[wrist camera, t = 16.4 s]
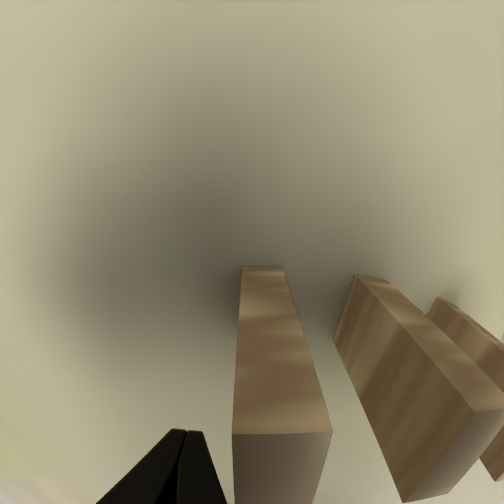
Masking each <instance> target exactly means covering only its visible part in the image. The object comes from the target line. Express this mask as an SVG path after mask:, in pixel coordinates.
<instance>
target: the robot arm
mask: <svg viewBox="0 0 504 504" xmlns="http://www.w3.org/2000/svg"><path fill="white" fill-rule="evenodd" d="M96 504H227V501H226V499H225V496H224V493H223V491H222V488H221V485H220V482H219V479H218V477H217V474H216V471H215V468H214V465H213V462H212V459H211V456H210V453H209V450H208V447H207V444H206V440H205V437H204V434H203V432H202V431H193V430H189V431H186V430H183V429H171V430H170V431H169V432H168V433H167V434H166V435H165V436H164V437H163V438H162V439H161V440H160V441H159V442H158V443H157V444H156V445H155V446H154V447H153V448H152V449H151V450H150V451H149V452H148V453H147V454H146V455H145V456H144V457H143V458H142V459H141V460H140V461H139V462H138V463H137V464H136V465H135V466H134V467H133V468H132V469H131V470H130V471H129V472H128V473H127V474H126V475H125V476H124V477H123V478H122V479H121V480H120V481H119V482H118V483H117V484H116V485H115V486H114V487H113V488H112V489H111V490H110V491H109V492H107V493H106V494H105V495H104V496H103V497H102V498H101V499H100V500H99V501H98V502H97V503H96Z"/></svg>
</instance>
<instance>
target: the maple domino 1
mask: <svg viewBox="0 0 504 504" xmlns="http://www.w3.org/2000/svg"><path fill="white" fill-rule="evenodd" d="M332 433H333V428H332V425H331V421H330V418H329V415H328V411H327V408H326V405H325V401H324V398H323V395H322V391H321V388H320V385H319V381H318V378H317V375H316V372H315V368H314V365H313V362H312V359H311V355H310V352H309V349H308V346H307V343H306V339H305V336H304V333H303V330H302V327H301V324H300V320H299V317H298V314H297V311H296V308H295V305H294V302H293V299H292V295H291V292H290V289H289V286H288V283H287V280H286V277H285V274H284V271H283V268H282V267H242V276H241V291H240V306H239V322H238V338H237V354H236V370H235V386H234V403H233V421H232V453H233V476H234V496H235V504H312V502H313V499H314V496H315V493H316V489H317V486H318V483H319V480H320V476H321V473H322V470H323V466H324V463H325V459H326V456H327V452H328V448H329V445H330V441H331V437H332Z"/></svg>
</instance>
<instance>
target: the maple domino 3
mask: <svg viewBox="0 0 504 504" xmlns="http://www.w3.org/2000/svg"><path fill="white" fill-rule="evenodd" d="M427 317H428V318H429V319H430V320H431V321H432V322H433V323H434V324H435V325H436V326H437V327H438V328H439V329H440V330H442V331H443V332H444V333H445V334H446V335H447V336H448V337H449V338H450V339H451V340H452V341H453V342H454V343H455V344H456V345H457V346H458V347H459V348H460V349H461V350H462V351H463V352H464V353H465V354H466V355H467V356H468V357H469V358H470V359H471V360H472V361H473V362H474V363H475V364H476V365H477V366H478V367H479V368H480V369H481V370H482V371H483V372H484V373H485V374H486V375H487V376H488V377H489V378H490V379H491V380H492V381H493V382H494V383H495V384H496V385H497V386H498V387H499V388H500V390H501V391H502V392H503V393H504V344H503V343H501V342H500V341H499V340H498V339H497V338H495V337H494V336H493V335H492V334H490V333H489V332H488V331H487V330H486V329H484V328H483V327H482V326H481V325H479V324H478V323H477V322H476V321H474V320H473V319H472V318H470V317H469V316H468V315H467V314H465V313H464V312H463V311H462V310H460V309H459V308H458V307H456V306H454V305H452V304H450V303H448V302H446V301H444V300H442V299H440V298H438V297H437V299H436V301H435V303H434V305H433V306H432V308H431V310H430V312H429V313H428V315H427ZM479 458H480V460H481V461H482V463H483V464H484V466H485V467H486V469H487V471H488V472H489V474H490V475H491V477H492V478H493V480H494V482H496V481H501V480H504V425H503V426H502V428H501V429H500V430H499V432H498V433H497V435H496V436H495V437H494V439H493V440H492V441H491V443H490V444H489V445H488V447H487V448H486V449H485V451H484V452H483V453H482V455H481V456H480V457H479Z"/></svg>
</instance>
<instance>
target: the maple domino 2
mask: <svg viewBox="0 0 504 504" xmlns="http://www.w3.org/2000/svg"><path fill="white" fill-rule="evenodd" d="M333 341H334V344H335V346H336V348H337V350H338V352H339V355H340V357H341V359H342V361H343V363H344V366H345V368H346V370H347V372H348V374H349V377H350V379H351V381H352V383H353V386H354V388H355V390H356V392H357V395H358V397H359V399H360V402H361V404H362V406H363V408H364V411H365V413H366V415H367V418H368V420H369V422H370V425H371V427H372V429H373V432H374V434H375V436H376V439H377V441H378V444H379V446H380V448H381V451H382V453H383V456H384V458H385V460H386V463H387V465H388V468H389V470H390V473H391V475H392V478H393V480H394V483H395V485H396V488H397V490H398V493H399V495H400V498H401V500H402V503H407V502H412V501H417V500H422V499H426V498H431V497H435V496H439V495H443V494H447V493H448V492H449V491H450V490H451V489H452V488H453V487H454V486H455V485H456V484H457V483H458V482H459V481H460V479H461V478H462V477H463V476H464V475H465V474H466V473H467V471H468V470H469V469H470V468H471V467H472V466H473V464H474V463H475V462H476V461H477V460H478V458H479V457H480V456H481V455H482V453H483V452H484V451H485V449H486V448H487V447H488V445H489V444H490V443H491V441H492V440H493V439H494V437H495V436H496V435H497V433H498V432H499V430H500V429H501V428H502V426H503V425H504V393H503V392H502V391H501V390H500V388H499V387H498V386H497V385H496V384H495V383H494V382H493V381H492V380H491V379H490V378H489V377H488V376H487V375H486V374H485V373H484V372H483V371H482V370H481V369H480V368H479V367H478V366H477V365H476V364H475V363H474V362H473V361H472V360H471V359H470V358H469V357H468V356H467V355H466V354H465V353H464V352H463V351H462V350H461V349H460V348H459V347H458V346H457V345H456V344H455V343H454V342H453V341H452V340H451V339H450V338H449V337H448V336H447V335H446V334H445V333H444V332H443V331H442V330H440V329H439V328H438V327H437V326H436V325H435V324H434V323H433V322H432V321H431V320H430V319H429V318H428V317H427V316H426V315H424V314H423V313H422V312H421V311H420V310H419V309H418V308H417V307H416V306H415V305H414V304H413V303H411V302H410V301H409V300H408V299H407V298H406V297H405V296H404V295H403V294H401V293H400V292H399V291H398V290H397V289H396V288H395V287H394V286H392V285H391V284H390V283H389V282H388V281H386V280H381V279H376V278H371V277H366V276H361V275H357V274H355V275H354V279H353V282H352V285H351V288H350V291H349V295H348V298H347V301H346V304H345V307H344V310H343V313H342V316H341V319H340V322H339V325H338V327H337V330H336V333H335V336H334V339H333Z"/></svg>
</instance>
